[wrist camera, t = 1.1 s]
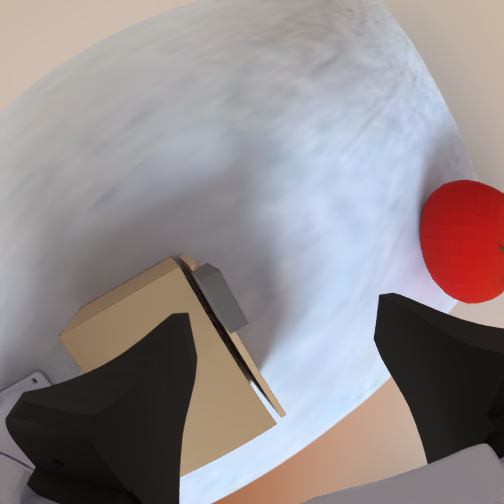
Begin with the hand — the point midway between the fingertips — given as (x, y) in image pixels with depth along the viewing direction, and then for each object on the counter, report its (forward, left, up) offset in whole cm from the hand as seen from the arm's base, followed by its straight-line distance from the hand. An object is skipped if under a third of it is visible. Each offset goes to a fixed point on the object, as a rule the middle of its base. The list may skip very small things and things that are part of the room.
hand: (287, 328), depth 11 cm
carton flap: (-1, -3, -12) cm, 13 cm away
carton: (-6, -3, -12) cm, 14 cm away
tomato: (+24, -9, -13) cm, 29 cm away
